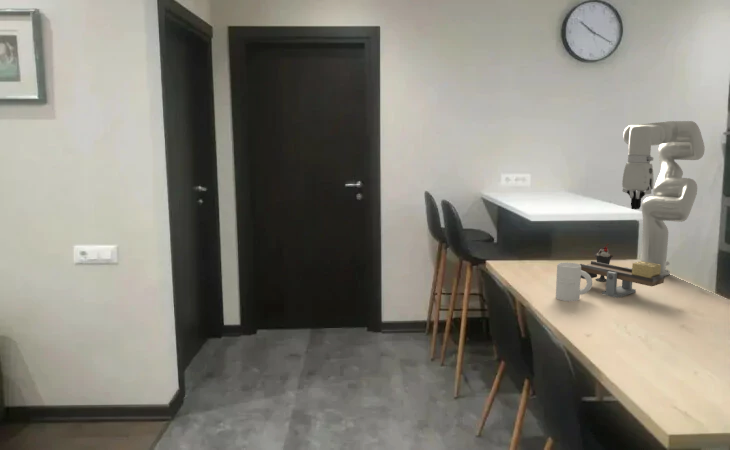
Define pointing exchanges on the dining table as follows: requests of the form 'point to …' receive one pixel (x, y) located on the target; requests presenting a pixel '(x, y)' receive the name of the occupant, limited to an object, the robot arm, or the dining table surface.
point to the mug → (571, 282)
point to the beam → (619, 273)
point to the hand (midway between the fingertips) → (635, 208)
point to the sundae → (603, 260)
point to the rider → (646, 269)
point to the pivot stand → (617, 291)
